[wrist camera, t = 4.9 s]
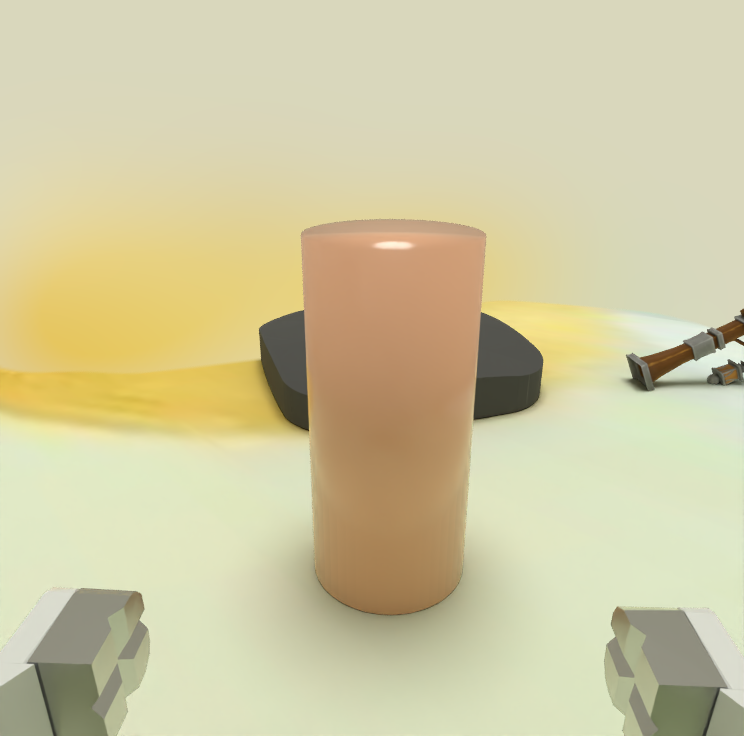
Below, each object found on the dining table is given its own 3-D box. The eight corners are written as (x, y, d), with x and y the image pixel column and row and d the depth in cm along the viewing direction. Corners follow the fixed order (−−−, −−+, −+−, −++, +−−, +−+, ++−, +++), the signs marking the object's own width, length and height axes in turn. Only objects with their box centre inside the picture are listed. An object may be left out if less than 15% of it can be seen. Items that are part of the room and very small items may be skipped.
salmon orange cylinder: (285, 557, 21) (264, 231, 17) (389, 500, 24) (393, 214, 20) (387, 641, 18) (392, 259, 13) (493, 562, 21) (524, 233, 17)
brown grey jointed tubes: (795, 373, 34) (783, 302, 33) (659, 429, 35) (640, 363, 33) (773, 361, 36) (760, 293, 34) (643, 415, 37) (624, 351, 35)
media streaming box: (293, 453, 28) (290, 394, 27) (252, 349, 41) (249, 306, 40) (568, 412, 32) (575, 359, 31) (452, 329, 45) (454, 289, 44)
